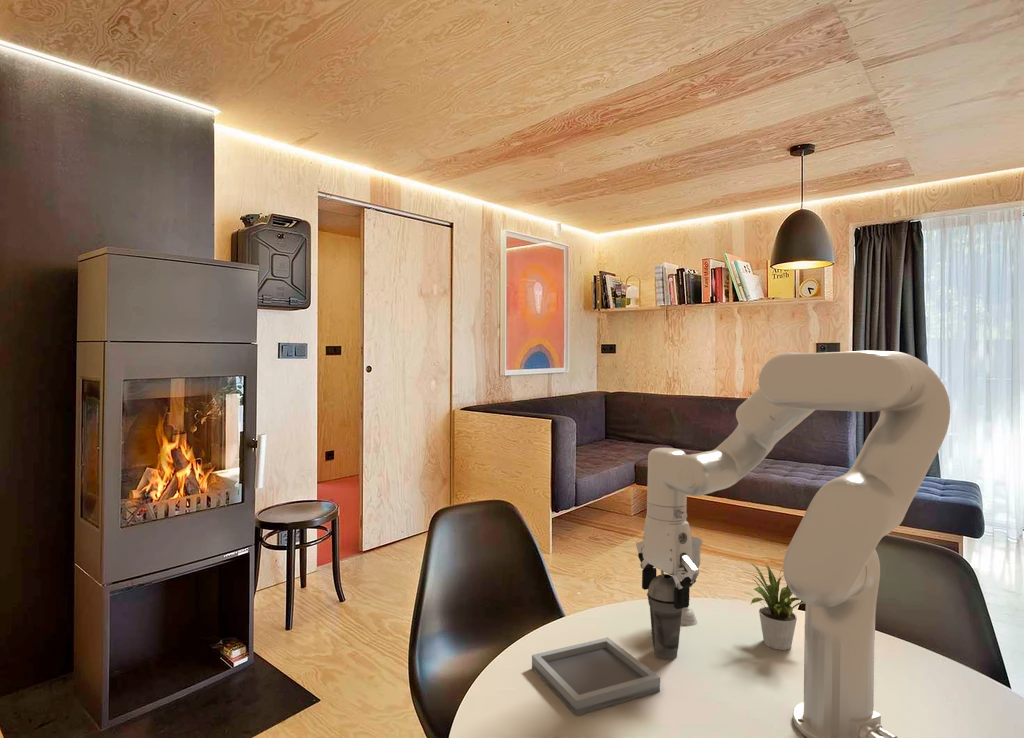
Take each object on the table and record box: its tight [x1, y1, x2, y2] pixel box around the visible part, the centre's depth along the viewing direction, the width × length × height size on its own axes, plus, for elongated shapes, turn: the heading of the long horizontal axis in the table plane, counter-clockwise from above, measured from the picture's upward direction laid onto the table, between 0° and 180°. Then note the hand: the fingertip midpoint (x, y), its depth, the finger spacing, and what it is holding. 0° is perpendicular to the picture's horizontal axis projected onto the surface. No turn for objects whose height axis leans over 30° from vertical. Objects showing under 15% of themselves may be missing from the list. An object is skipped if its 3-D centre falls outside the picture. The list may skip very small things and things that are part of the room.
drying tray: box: [531, 637, 661, 717], centre depth 105 cm, size 16×17×2 cm
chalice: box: [677, 535, 704, 626], centre depth 129 cm, size 7×7×18 cm
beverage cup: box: [646, 570, 683, 661], centre depth 114 cm, size 7×7×20 cm
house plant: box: [741, 560, 806, 651], centre depth 119 cm, size 14×14×16 cm
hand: (664, 597), depth 114 cm, fingers open, 9 cm apart
